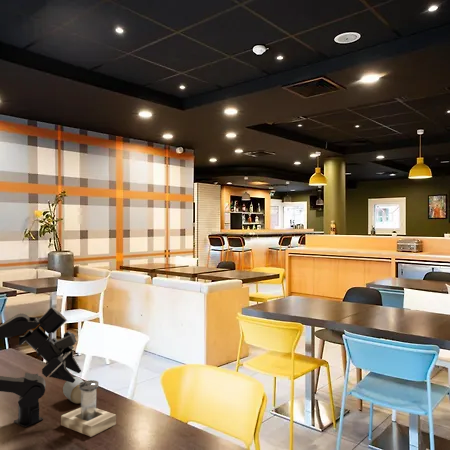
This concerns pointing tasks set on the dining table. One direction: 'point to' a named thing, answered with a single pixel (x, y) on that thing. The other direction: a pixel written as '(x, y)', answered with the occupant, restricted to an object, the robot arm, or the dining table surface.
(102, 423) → the plate
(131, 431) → the dining table surface
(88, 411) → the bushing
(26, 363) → the dining table surface
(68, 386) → the ceramic mug
